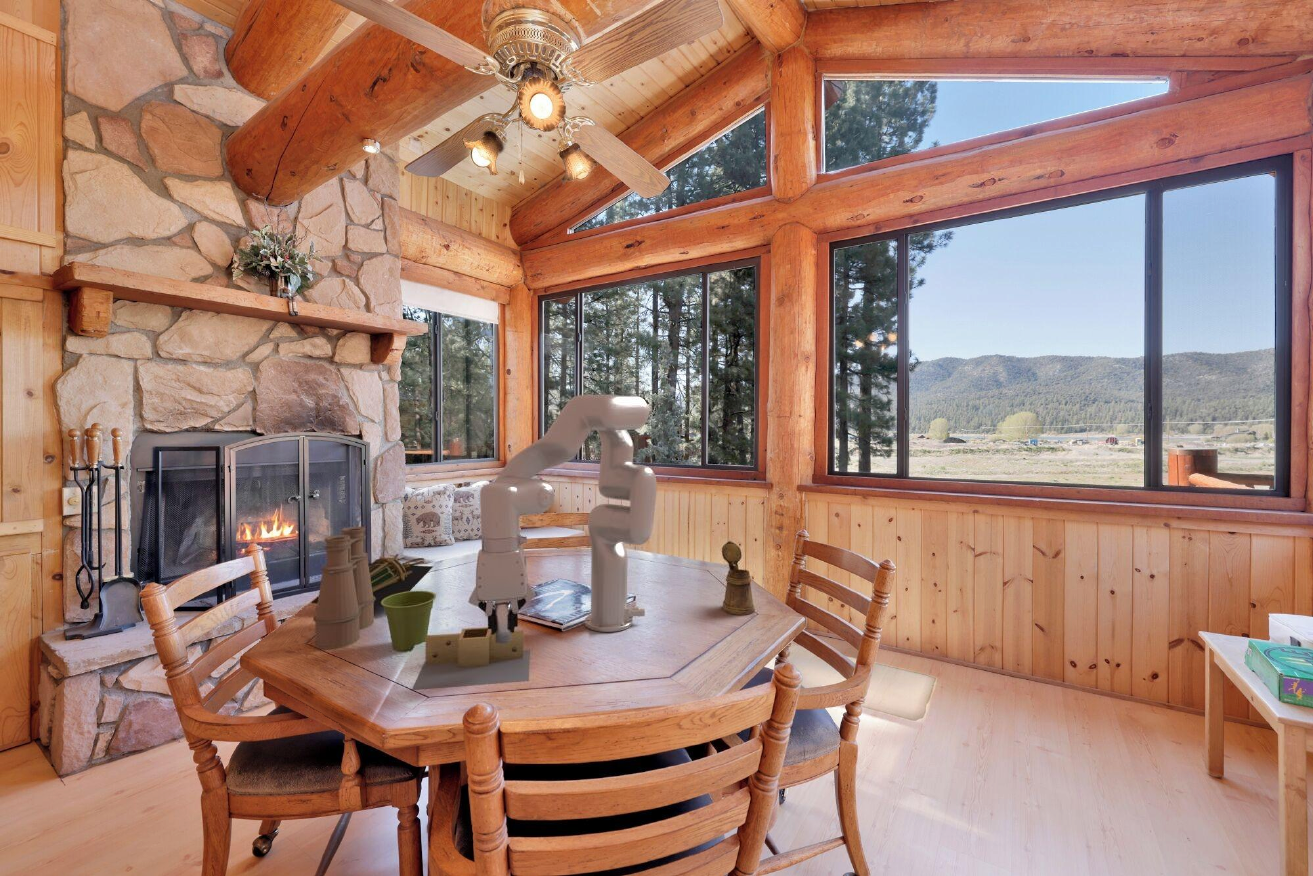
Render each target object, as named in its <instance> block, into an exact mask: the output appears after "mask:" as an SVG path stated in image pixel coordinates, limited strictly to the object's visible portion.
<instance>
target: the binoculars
mask: <svg viewBox="0 0 1313 876" xmlns="http://www.w3.org/2000/svg"><path fill="white" fill-rule="evenodd" d="M341 531H342V533H343V534H337V535H329V536H326V537H324V542H325V543H326V545H325V546H324V547H323V549H324V551H326V564H325V565H323V566H322V567H321V570H320V571H321V579H320V585H319V592H318V596H319V598H318V603H317V605H316V612H315V615H314V616H313V619H312V621H314V623H315V641H314V645H315V648H318V649H323V650H332V649H333V650H334V649H335V650H336V649H339V648H343V647H344V648H345V647H348V646H350V645H353V644H355V643H357V642H358V641H359V640H360V630H364V629H367V628H369V627H371V626H373V624H375V622H374V621H375V618H374V613H375V612H374V611H375V610H374V607H375V606H374V601H375V599H376V598H375V597H374V596H373V591H372V585H371V579H370V572H369V566H368V563H369V561H368V557H369V554H368V553H367V552H364V540H366V537H367V535H365V534H364V532H365V531H366V527H365V526H350V527H349V526H348V527H343V528H342V529H341Z"/></svg>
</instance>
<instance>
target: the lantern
mask: <svg viewBox="0 0 1313 876" xmlns="http://www.w3.org/2000/svg"><path fill="white" fill-rule="evenodd" d="M399 555H400V554H399V553H397V554H396V555H394V556H393V557H388V556H387V557H383V556H382V555H380V556H379V558H377V559H375V560H374V561H373V562H372V563H369V562H368V566H369V572H370V579H371V585H372V591H373V596H374V597H375V598H376V599H375V601H374V607H383V608H384V606H382V605H381V601H382V600H383V599H384V598H386V597H388V596H391V595H394V594H398V593H402V592H408V591H413V588H415V587H416V586H417V584H419V583H420V581H421V580H422V579H423V578H424V577H425V576H426V575H427V574H428V573H429V572H430V571H431V570H432V569H433V568H434V566H429V565H421V564H424V562H425V560H426V559H425V558H424V557H417V558H413V559H410V560H407V561H405V562H400V561H399V559H398V557H399ZM413 562H414V563H413ZM318 598H319V595H318V596H316V598H315V599H313V600H312V601H310V604H318Z"/></svg>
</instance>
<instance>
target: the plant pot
mask: <svg viewBox="0 0 1313 876" xmlns="http://www.w3.org/2000/svg"><path fill="white" fill-rule="evenodd" d="M436 598H437V595H436V593H435V592H432V591H428V590H411V591H408V592H402V593H398V594H394V595H391V596H388V597H386V598H384V599H383V600H382V601H381V605H382V606H384V607H383V609H384V613H385V616H386V620H387V623H388V629H389V635H390V639H391V645H392V648H393V649H394V650H396V651H399V652H405V651H407V650H412V651H413V650H414V649H415V647H416V646H417V645H420V644H422V643H426V635H429V634H428V632H429V626H430V619H431V614H432V613H431V612H432V609H433V605H434V601H435V599H436Z"/></svg>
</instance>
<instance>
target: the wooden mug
mask: <svg viewBox="0 0 1313 876" xmlns="http://www.w3.org/2000/svg"><path fill="white" fill-rule="evenodd" d="M721 553H722V559H724V561H726V562H727V563H728V568H729V570H728V572H727V574H726V576H725V577H726V578H725V582H726V586H725V593H724V600H722V601H723V602H722V609H723V611H724V612H726V613H728V614H731V615H732V614H733V615H738V616H744V615H746V616H747V615H750V614H752V613H755V604H754V603H753V602H754V601H753V592H752V586H751V585H752V583H751V582H752V577H751V575H750V571H749V570H748V569H740V568H739V565H738V564H739V562H740V560H741V559H742V557H743V556H742V550H741V548H740V547H739V546H738V545H737V544H736V543H735V542H733V541H731V540H729V541H727V542H726V543H725V544H724V545H723V546H722V548H721Z"/></svg>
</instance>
